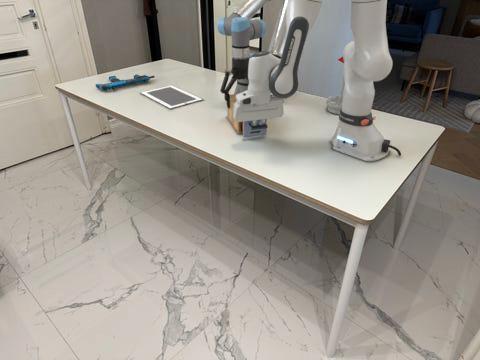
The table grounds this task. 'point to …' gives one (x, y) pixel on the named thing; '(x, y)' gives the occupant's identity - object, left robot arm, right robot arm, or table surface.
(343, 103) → the right robot arm
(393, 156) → the table surface
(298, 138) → the table surface
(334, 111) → the flag stand
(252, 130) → the drawer
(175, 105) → the tablet
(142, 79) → the submachine gun
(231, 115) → the cabinet
